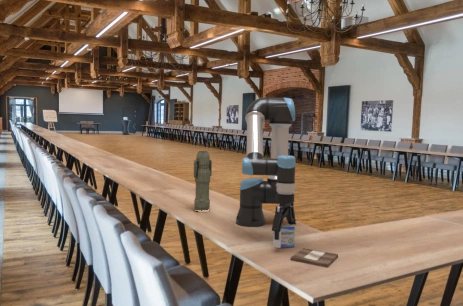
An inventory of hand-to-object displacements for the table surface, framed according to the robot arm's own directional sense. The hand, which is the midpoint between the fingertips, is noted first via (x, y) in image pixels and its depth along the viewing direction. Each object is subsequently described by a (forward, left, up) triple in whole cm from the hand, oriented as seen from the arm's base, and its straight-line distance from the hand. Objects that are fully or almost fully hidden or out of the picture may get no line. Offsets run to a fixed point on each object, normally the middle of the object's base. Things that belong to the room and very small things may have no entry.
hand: (283, 243), depth 165 cm
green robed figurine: (-38, -67, -1) cm, 77 cm away
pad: (+8, +16, -1) cm, 18 cm away
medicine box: (0, 0, -2) cm, 2 cm away
